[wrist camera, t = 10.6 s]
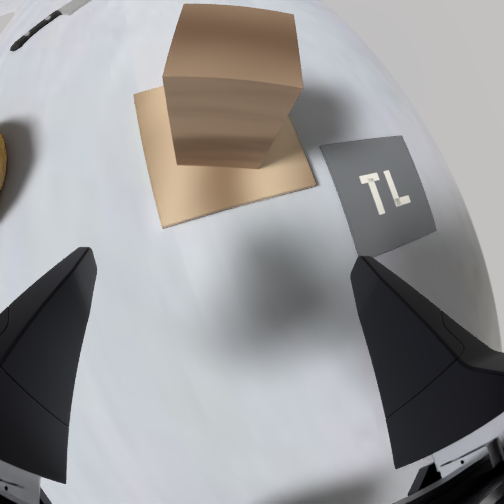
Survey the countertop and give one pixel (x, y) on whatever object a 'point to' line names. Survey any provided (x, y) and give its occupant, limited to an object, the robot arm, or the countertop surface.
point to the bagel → (2, 161)
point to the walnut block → (230, 83)
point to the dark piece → (67, 9)
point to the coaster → (213, 169)
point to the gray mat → (379, 193)
